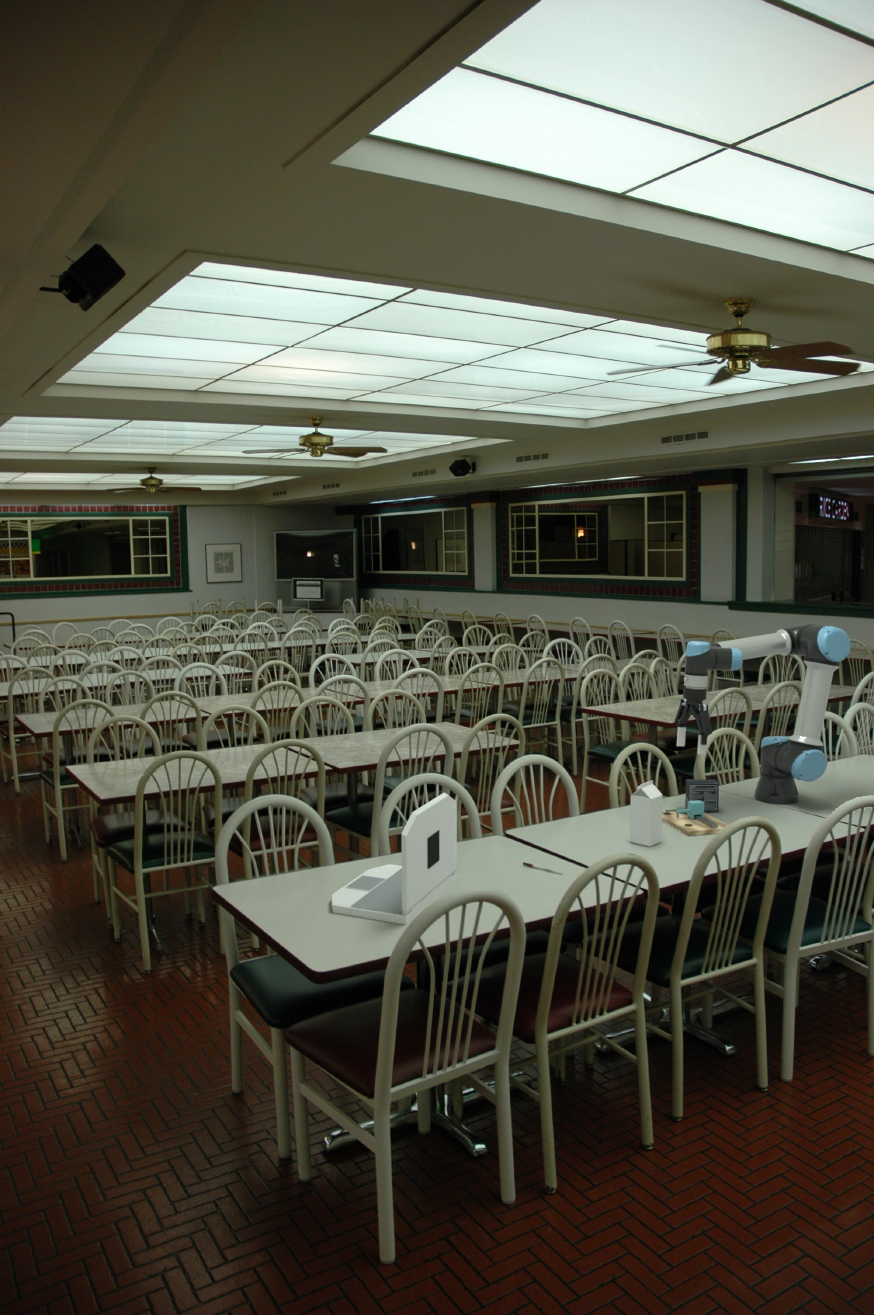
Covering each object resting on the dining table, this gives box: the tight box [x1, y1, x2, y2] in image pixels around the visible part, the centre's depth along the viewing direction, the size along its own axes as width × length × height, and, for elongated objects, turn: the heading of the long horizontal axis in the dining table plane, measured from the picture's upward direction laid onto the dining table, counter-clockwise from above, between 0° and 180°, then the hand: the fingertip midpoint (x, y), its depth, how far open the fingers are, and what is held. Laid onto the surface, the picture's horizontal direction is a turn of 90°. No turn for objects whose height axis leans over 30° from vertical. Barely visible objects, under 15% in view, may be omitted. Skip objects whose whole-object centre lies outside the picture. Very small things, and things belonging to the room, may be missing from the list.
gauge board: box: [662, 811, 728, 836], centre depth 306 cm, size 16×22×2 cm
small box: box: [684, 778, 720, 813], centre depth 323 cm, size 11×6×10 cm, turn 84°
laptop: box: [331, 792, 458, 925], centre depth 243 cm, size 33×24×26 cm
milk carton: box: [629, 780, 663, 847], centre depth 287 cm, size 7×7×19 cm
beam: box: [665, 806, 718, 828], centre depth 306 cm, size 9×20×1 cm, turn 15°
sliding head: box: [676, 800, 705, 819], centre depth 308 cm, size 9×3×5 cm, turn 105°
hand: (690, 750), depth 312 cm, fingers open, 13 cm apart
